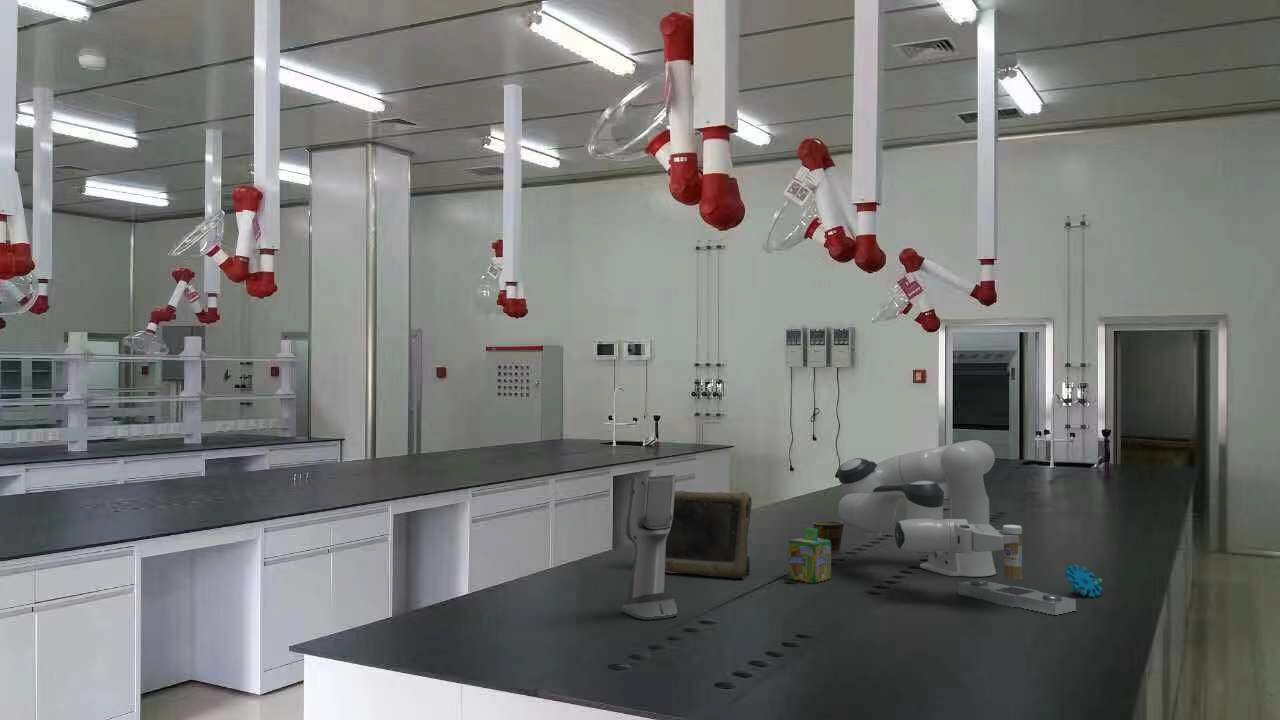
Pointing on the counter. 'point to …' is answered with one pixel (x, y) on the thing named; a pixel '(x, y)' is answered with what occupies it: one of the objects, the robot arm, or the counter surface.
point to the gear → (1083, 581)
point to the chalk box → (810, 558)
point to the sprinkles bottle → (1013, 553)
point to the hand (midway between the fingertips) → (1016, 536)
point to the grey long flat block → (1017, 597)
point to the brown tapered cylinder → (830, 532)
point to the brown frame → (709, 534)
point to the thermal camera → (650, 544)
